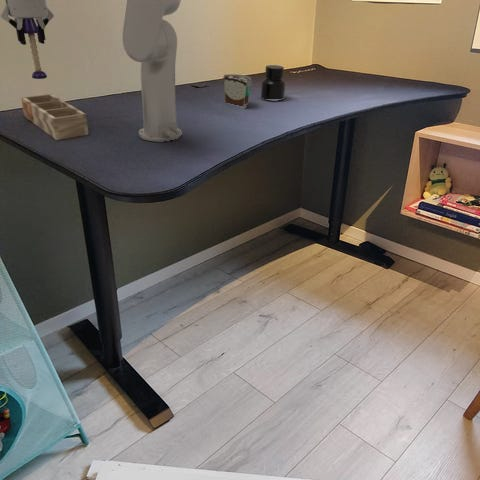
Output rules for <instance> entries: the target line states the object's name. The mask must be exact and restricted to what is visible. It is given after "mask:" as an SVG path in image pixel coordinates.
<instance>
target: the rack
mask: <svg viewBox="0 0 480 480" xmlns="http://www.w3.org/2000/svg"><path fill="white" fill-rule="evenodd" d="M20 99H21V105H22V111H23V115H24V117H25V119H27V120H29V121H30V122H31V123H33V124H34V125H35V126H37V127H38V128H40V129H41V130H42V131H43V132H45V133H46V134H48V135H49V136H50V137H51V138H53V139H54V140H55V141H59V140H65V139H71V138H75V137H82V136H87V135H89V128H88V127H89V126H88V118H87V113H85V112H83V111H81V110H80V109H78V108H77V107H74V106H73V105H71V104H70V103H68V102H66V101H65V100H63V99H61V98H59V96H58V97H57V96H56V95H54V94H53V93H47V94H40V95H32V96H23V97H21V98H20Z"/></svg>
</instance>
